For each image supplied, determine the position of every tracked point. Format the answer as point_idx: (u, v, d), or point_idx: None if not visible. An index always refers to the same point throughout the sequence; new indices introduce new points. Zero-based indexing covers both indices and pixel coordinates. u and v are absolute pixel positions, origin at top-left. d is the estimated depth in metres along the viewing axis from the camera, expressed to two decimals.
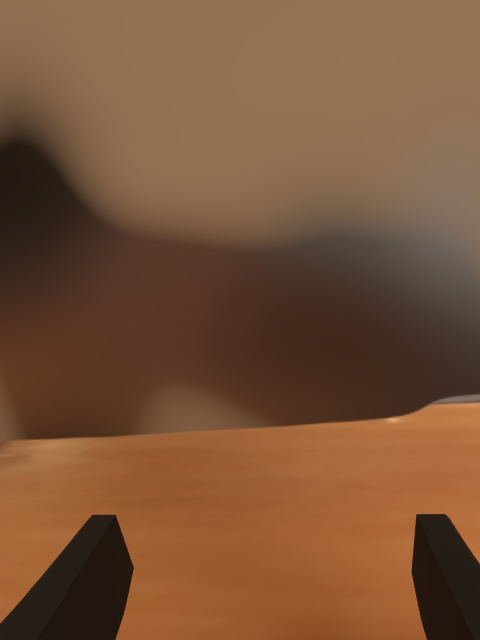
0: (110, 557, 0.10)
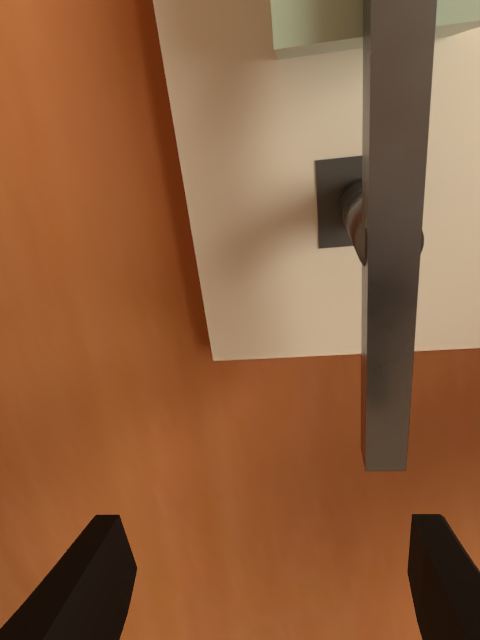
0: (114, 557, 0.10)
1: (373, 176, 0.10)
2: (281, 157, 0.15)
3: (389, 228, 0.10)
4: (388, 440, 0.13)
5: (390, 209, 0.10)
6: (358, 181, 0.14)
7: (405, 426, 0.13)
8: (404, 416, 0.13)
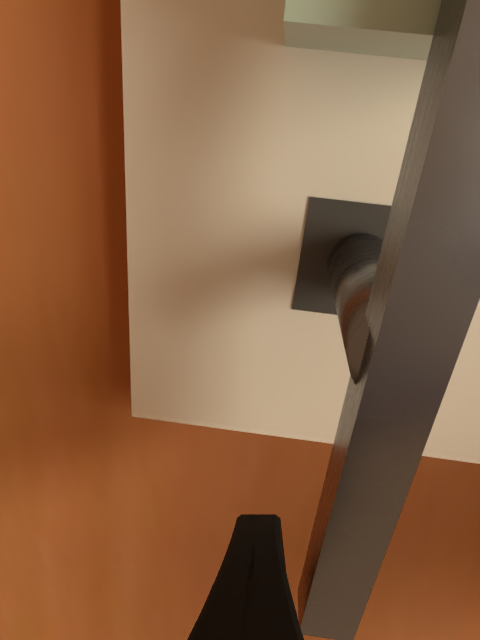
0: None
1: (404, 268, 0.06)
2: (264, 182, 0.11)
3: (408, 348, 0.07)
4: (337, 607, 0.09)
5: (417, 321, 0.06)
6: (361, 237, 0.11)
7: (364, 595, 0.09)
8: (366, 584, 0.09)
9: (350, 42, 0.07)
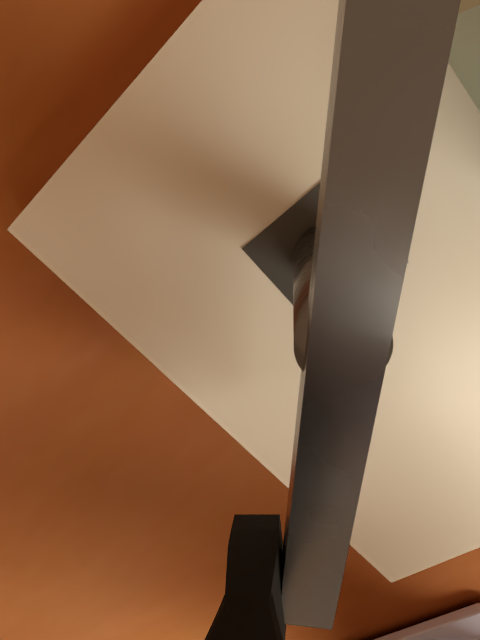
0: (281, 559, 0.10)
1: (326, 252, 0.06)
2: (314, 123, 0.10)
3: (342, 331, 0.07)
4: (311, 594, 0.10)
5: (346, 305, 0.06)
6: None
7: (337, 582, 0.09)
8: (336, 570, 0.09)
9: None
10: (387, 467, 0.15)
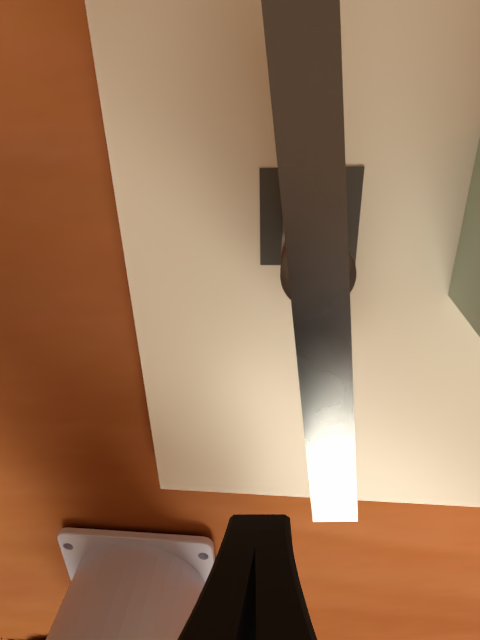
0: None
1: (287, 201, 0.08)
2: (376, 123, 0.12)
3: (311, 259, 0.09)
4: (334, 490, 0.12)
5: (310, 238, 0.09)
6: None
7: (352, 475, 0.11)
8: (349, 464, 0.11)
9: None
10: (226, 400, 0.17)
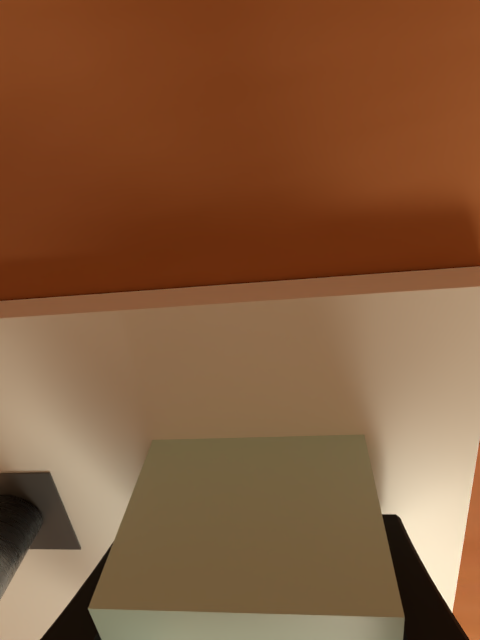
0: None
1: None
2: (44, 439, 0.11)
3: None
4: None
5: None
6: None
7: None
8: None
9: None
10: None
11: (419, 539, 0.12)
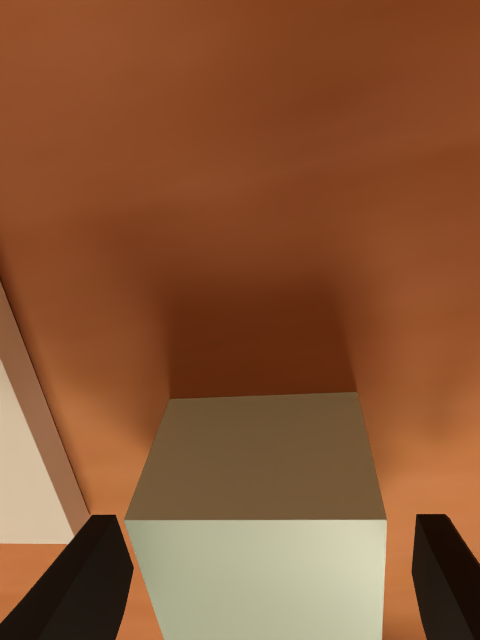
0: (110, 557, 0.10)
1: None
2: None
3: None
4: None
5: None
6: None
7: None
8: None
9: None
10: None
11: None
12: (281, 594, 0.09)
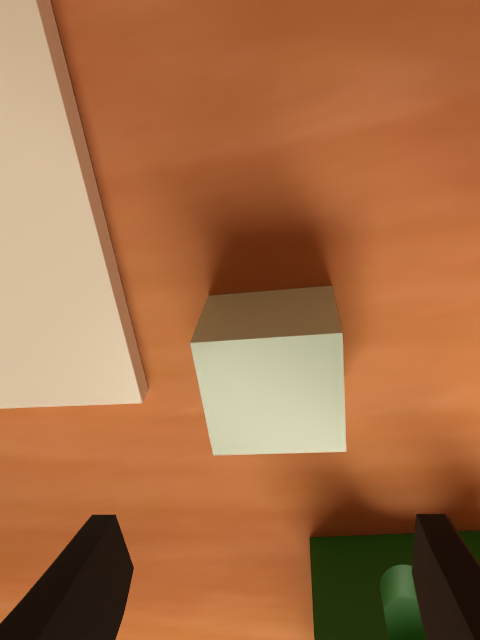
0: (110, 557, 0.10)
1: None
2: None
3: None
4: None
5: None
6: None
7: None
8: None
9: None
10: None
11: (43, 144, 0.15)
12: (283, 394, 0.16)
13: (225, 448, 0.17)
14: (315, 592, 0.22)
